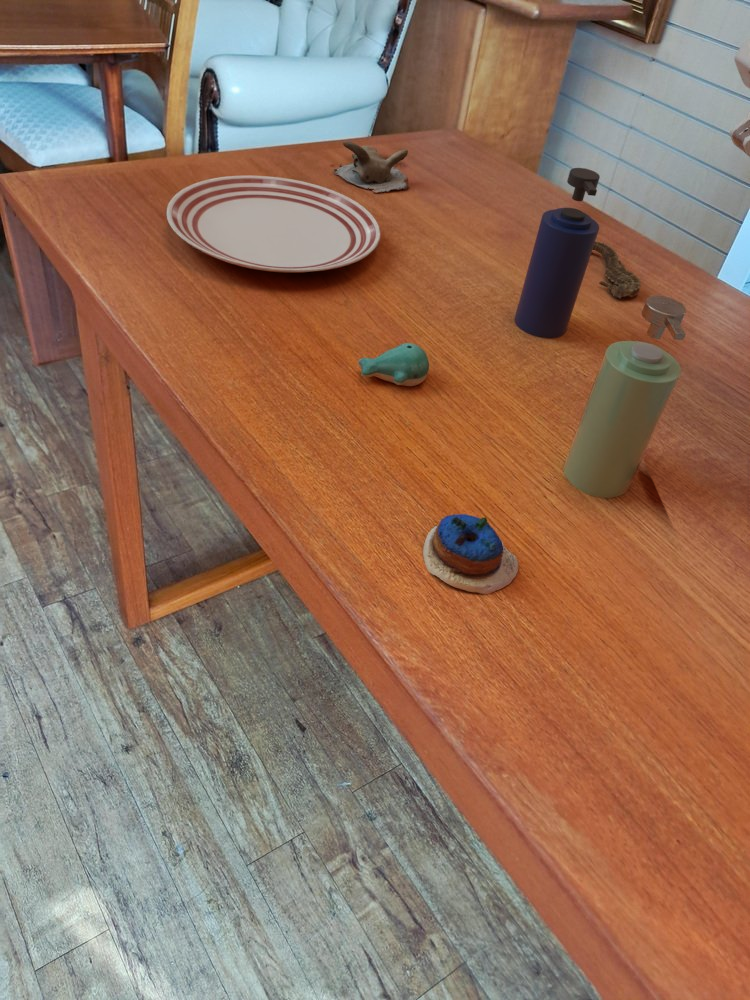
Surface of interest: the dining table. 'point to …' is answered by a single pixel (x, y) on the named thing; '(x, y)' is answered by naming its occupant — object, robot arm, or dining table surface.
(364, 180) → the skull
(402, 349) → the whale figurine
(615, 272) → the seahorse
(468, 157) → the dining table surface
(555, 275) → the bottle navy
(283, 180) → the dinner plate
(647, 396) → the bottle green
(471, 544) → the dessert
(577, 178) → the black dispenser pump head
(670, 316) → the grey round-capped part
